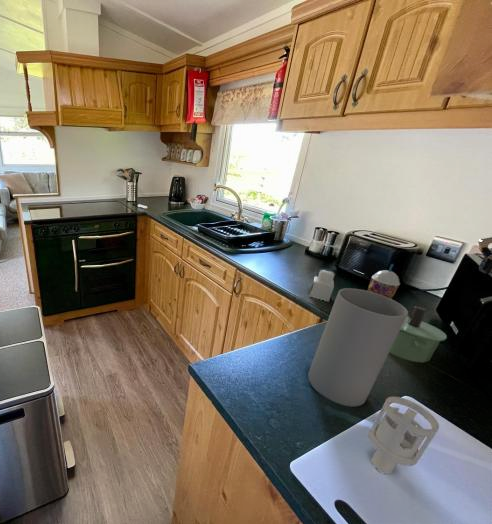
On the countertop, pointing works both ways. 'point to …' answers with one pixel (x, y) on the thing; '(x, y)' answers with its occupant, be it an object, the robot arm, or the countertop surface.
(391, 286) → the smoothie
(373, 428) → the strainer
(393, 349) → the pot
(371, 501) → the countertop surface
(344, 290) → the cylinder vase
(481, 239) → the robot arm
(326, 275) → the medicine bottle
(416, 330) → the lid
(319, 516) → the countertop surface
